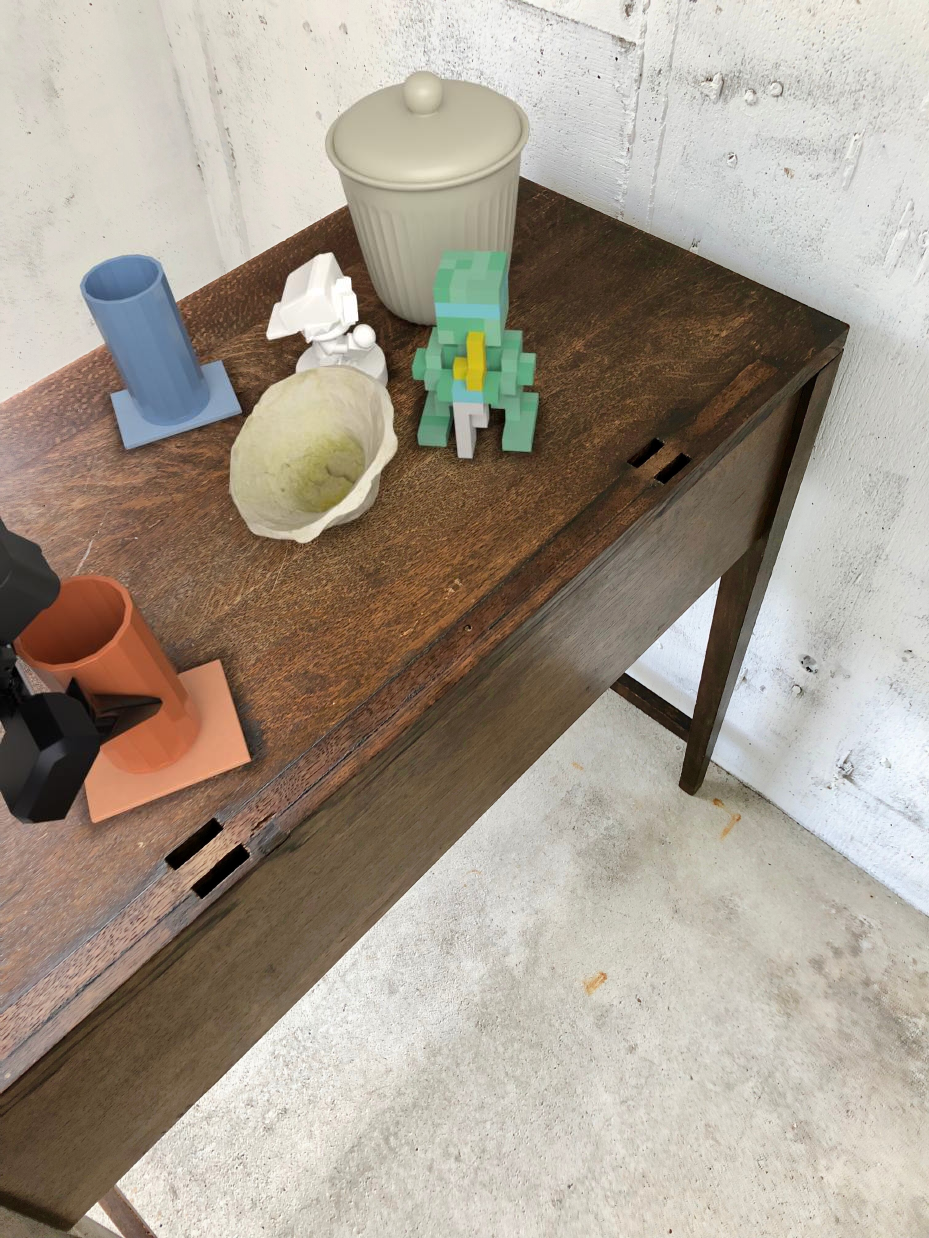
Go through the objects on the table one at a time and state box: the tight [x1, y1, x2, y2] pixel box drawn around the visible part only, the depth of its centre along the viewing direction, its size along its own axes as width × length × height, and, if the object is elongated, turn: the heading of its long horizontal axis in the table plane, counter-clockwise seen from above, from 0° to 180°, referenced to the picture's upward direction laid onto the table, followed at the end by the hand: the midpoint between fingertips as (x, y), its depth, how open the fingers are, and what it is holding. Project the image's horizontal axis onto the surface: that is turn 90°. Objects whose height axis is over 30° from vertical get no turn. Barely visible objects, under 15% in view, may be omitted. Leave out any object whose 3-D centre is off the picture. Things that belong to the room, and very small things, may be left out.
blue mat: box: [109, 359, 243, 451], centre depth 83 cm, size 11×8×1 cm
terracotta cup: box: [13, 573, 201, 774], centre depth 56 cm, size 7×7×13 cm
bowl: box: [228, 365, 399, 544], centre depth 70 cm, size 15×14×10 cm
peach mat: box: [84, 658, 252, 824], centre depth 62 cm, size 11×9×1 cm
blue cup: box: [79, 253, 210, 426], centre depth 77 cm, size 7×7×13 cm
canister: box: [324, 70, 531, 327], centre depth 82 cm, size 18×18×21 cm
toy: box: [411, 250, 540, 459], centre depth 73 cm, size 10×10×15 cm
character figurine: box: [265, 251, 389, 389], centre depth 79 cm, size 9×10×12 cm
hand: (135, 668), depth 56 cm, fingers closed on terracotta cup, 7 cm apart
